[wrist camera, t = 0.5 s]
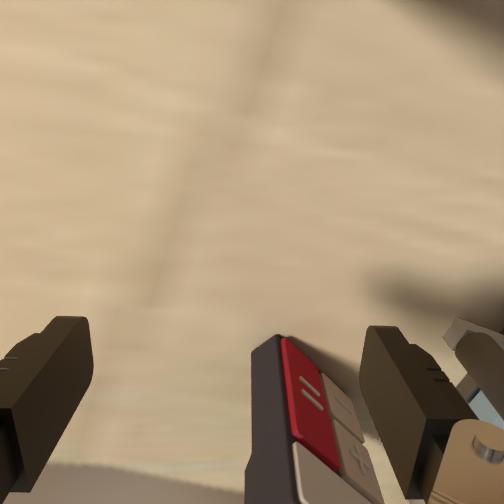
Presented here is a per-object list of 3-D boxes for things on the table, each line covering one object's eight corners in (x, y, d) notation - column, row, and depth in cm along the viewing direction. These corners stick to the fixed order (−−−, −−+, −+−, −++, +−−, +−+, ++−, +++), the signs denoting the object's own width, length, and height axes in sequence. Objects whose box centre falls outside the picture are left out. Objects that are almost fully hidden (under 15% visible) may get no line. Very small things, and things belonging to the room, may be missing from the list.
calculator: (355, 398, 37) (418, 587, 23) (319, 420, 38) (359, 613, 24) (282, 326, 33) (305, 500, 20) (245, 353, 34) (242, 534, 21)
